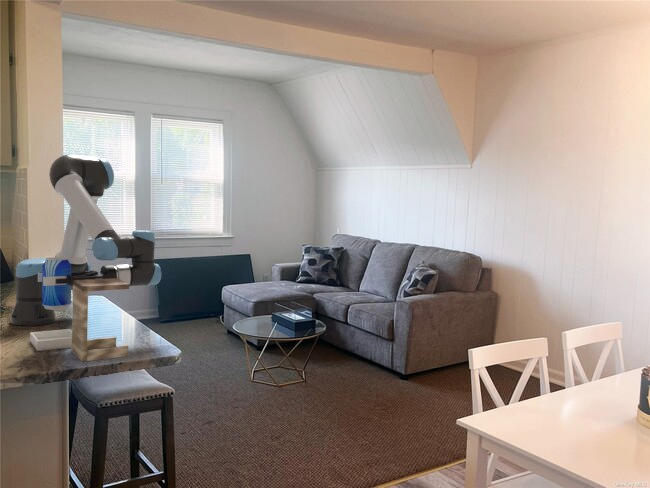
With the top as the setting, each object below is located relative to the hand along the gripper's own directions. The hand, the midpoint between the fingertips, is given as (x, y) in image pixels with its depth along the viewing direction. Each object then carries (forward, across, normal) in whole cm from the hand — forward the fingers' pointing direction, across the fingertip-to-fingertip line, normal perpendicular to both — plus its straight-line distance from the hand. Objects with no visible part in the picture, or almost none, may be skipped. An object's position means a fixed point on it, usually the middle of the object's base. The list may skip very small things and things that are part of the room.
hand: (40, 279), depth 176 cm
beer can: (-5, 0, -10) cm, 11 cm away
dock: (-14, -15, -22) cm, 30 cm away
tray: (-4, +1, -22) cm, 22 cm away
